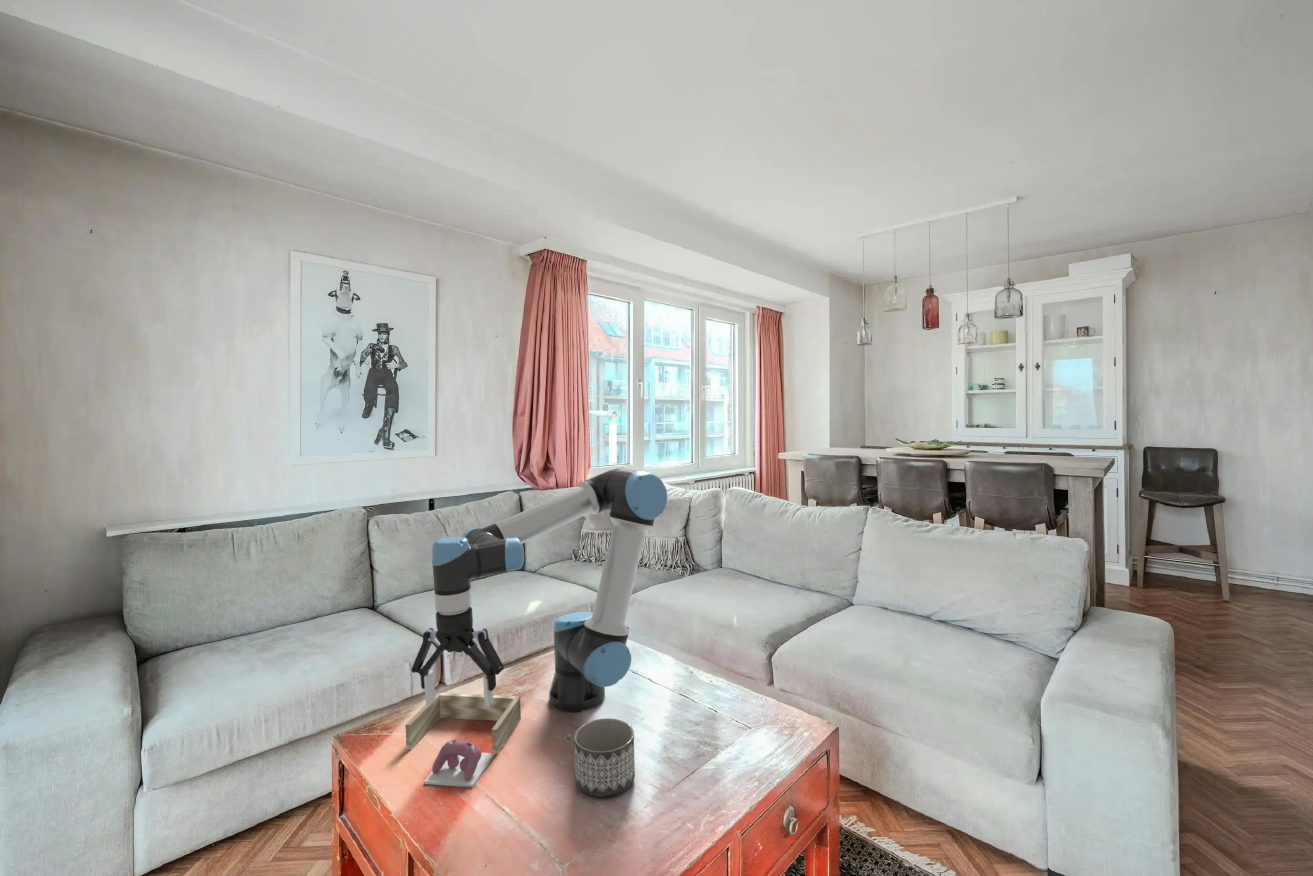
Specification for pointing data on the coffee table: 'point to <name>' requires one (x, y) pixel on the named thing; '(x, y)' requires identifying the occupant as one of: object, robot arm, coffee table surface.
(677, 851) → the coffee table surface
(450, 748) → the video game controller
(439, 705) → the bay
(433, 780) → the pad
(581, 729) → the planter
